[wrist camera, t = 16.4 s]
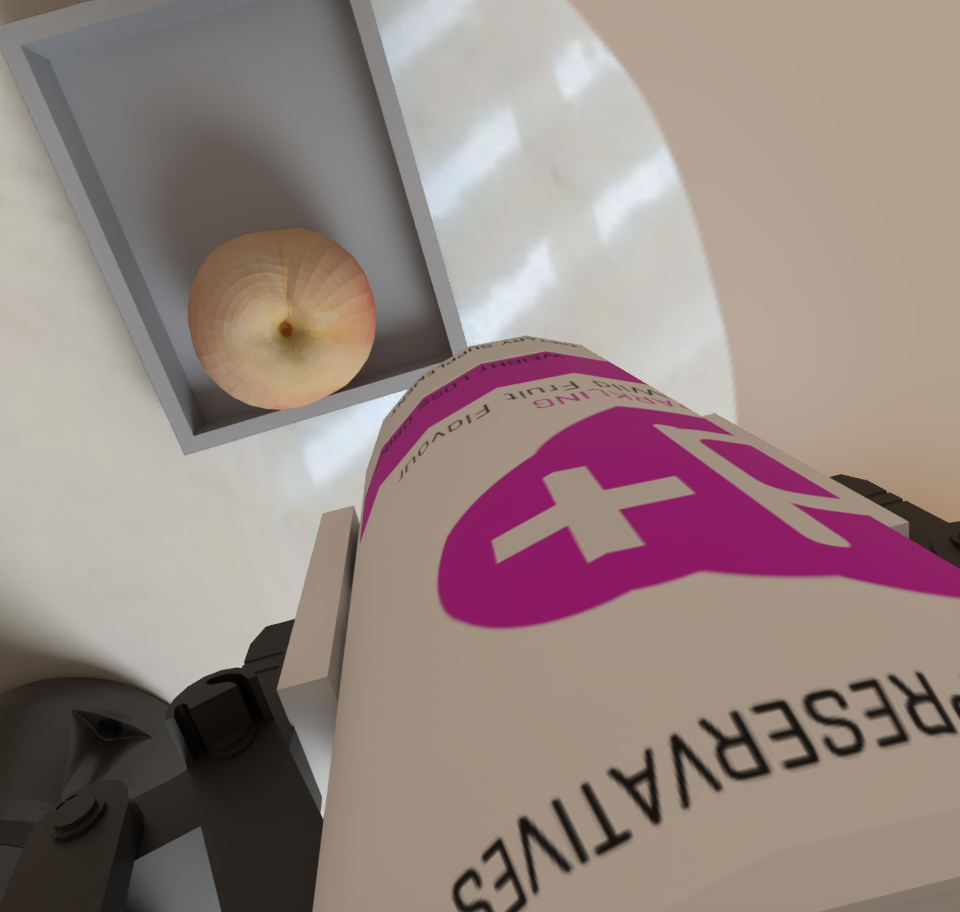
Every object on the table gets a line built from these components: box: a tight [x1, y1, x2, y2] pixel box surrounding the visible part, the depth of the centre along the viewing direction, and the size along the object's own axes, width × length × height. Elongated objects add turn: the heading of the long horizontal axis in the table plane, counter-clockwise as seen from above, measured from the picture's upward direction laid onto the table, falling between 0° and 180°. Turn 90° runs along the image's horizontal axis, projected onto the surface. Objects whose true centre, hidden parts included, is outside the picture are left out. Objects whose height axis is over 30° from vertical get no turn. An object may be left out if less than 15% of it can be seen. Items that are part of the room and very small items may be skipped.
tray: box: [0, 0, 468, 455], centre depth 32 cm, size 15×19×3 cm
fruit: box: [188, 228, 376, 410], centre depth 30 cm, size 8×8×8 cm
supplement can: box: [312, 336, 960, 912], centre depth 12 cm, size 8×8×15 cm
